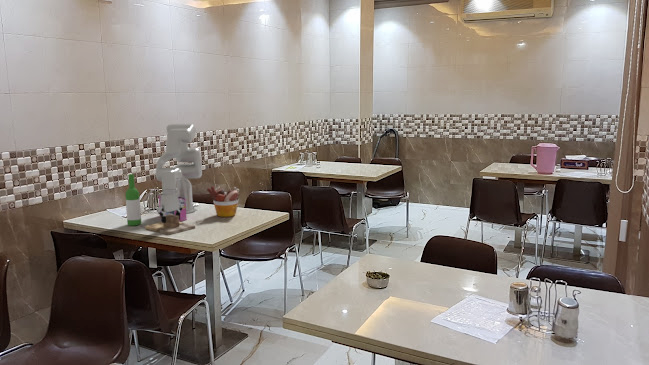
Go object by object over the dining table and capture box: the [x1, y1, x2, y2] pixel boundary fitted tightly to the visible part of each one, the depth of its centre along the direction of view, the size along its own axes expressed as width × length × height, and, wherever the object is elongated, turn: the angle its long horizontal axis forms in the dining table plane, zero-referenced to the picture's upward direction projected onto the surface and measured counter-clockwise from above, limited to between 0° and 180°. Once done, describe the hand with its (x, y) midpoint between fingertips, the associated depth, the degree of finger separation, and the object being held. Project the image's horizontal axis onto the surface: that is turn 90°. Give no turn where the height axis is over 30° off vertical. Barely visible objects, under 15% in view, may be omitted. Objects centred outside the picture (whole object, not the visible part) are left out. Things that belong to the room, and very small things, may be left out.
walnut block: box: [163, 214, 180, 228], centre depth 288 cm, size 5×8×6 cm, turn 53°
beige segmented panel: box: [144, 221, 185, 233], centre depth 292 cm, size 18×12×2 cm, turn 143°
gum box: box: [158, 194, 188, 222], centre depth 315 cm, size 24×8×14 cm, turn 42°
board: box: [158, 222, 196, 236], centre depth 286 cm, size 18×9×2 cm, turn 143°
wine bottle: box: [124, 173, 142, 227], centre depth 297 cm, size 8×8×30 cm
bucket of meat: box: [207, 185, 240, 218], centre depth 320 cm, size 20×16×20 cm
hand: (171, 221), depth 288 cm, fingers open, 9 cm apart
